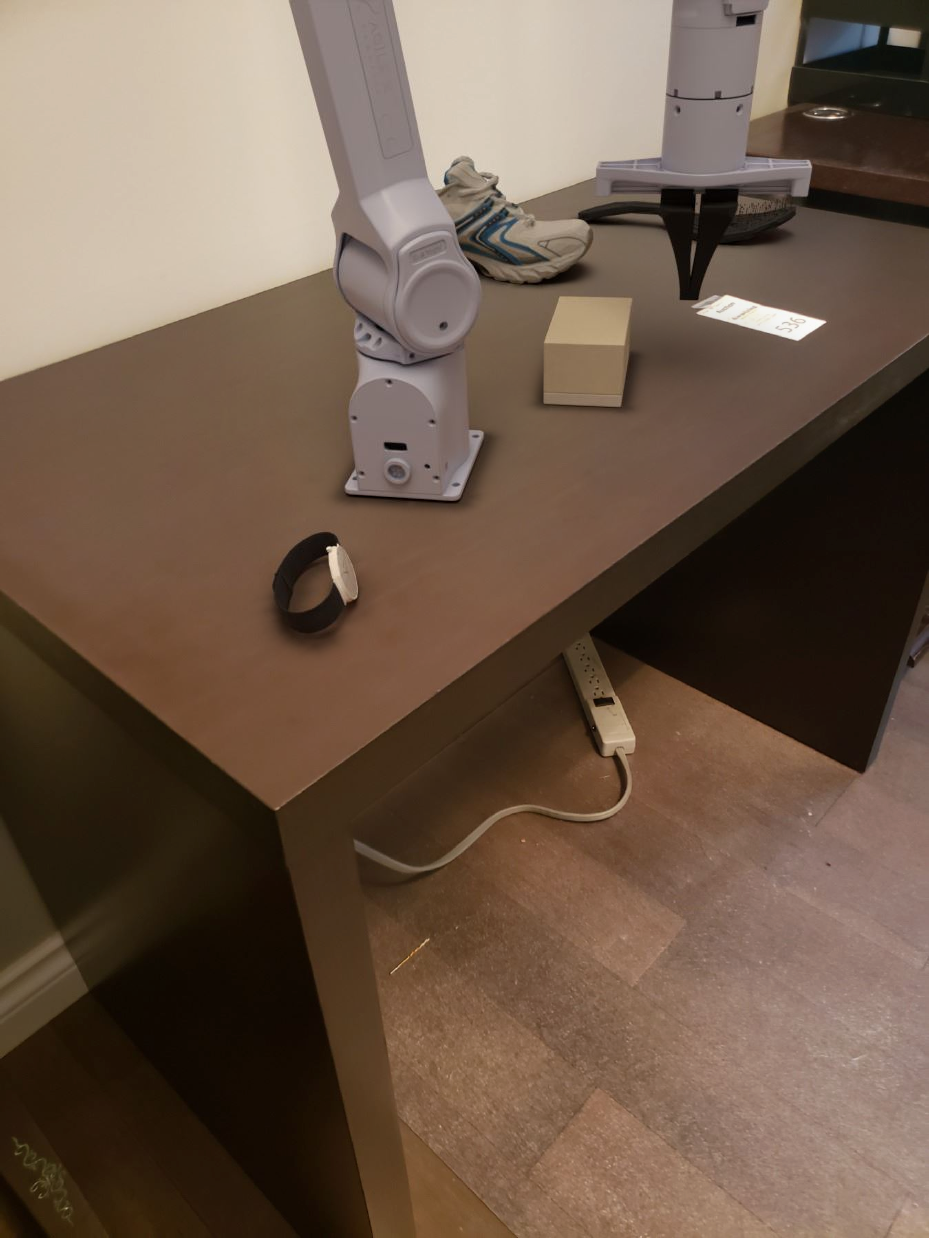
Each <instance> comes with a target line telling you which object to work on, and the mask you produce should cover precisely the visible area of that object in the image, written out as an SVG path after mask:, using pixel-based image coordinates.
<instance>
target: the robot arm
mask: <svg viewBox="0 0 929 1238" xmlns="http://www.w3.org/2000/svg"><path fill="white" fill-rule="evenodd" d="M769 2H770V0H672V5H671V19H670V20H671V21H670V31H669V33H670V34H669V46H668V59H667V60H668V61H667V72H666V74H667V76H666V85H665V86H666V87H665V101H664V113H663V114H664V115H663V125H662V126H663V127H662V140H661V152H660V154H661V155H660V156H658V157H657V156H656V157H647V158H635V159H624V160H623V159H622V160H607V161H606V160H605V161H604V160H602V161H598V162H597V165H596V169H595V194H594V195H595V197H596V198H607V197H611V196H612V195H660V201H659V203H660V212H661V216H662V218H661V219H662V222H663V224H664V227H665V229H666V232H667V235H668V238H669V240H670V245H671V247H672V251H673V255H674V259H675V264H676V265H675V266H676V269H677V277H678V286H679V287H678V289H679V299H678V300H679V301H694V302H695V301H699V299H700V294H701V288H702V285H703V282H704V279H705V277H706V274H707V270H708V268H709V266H710V264H711V261H712V259H713V256H714V254H715V253H716V250H717V248H718V246H719V244H720V243H719V242H720V240H721V239H722V237H723V235H724V233H725V232H726V230H727V228H728V227H729V225H730V223H731V222H732V220H733V218H734V216H735V215H737V213H738V209H739V206H738V204H739V195H790V197H791V196H792V197H793V198H807V197H808V195H809V189H810V183H811V177H812V173H813V172H812V171H813V165H812V162H811V160H809V159H784V158H769V157H757V156H756V157H755V156H746V155H747V147H748V139H749V131H750V123H751V114H752V107H753V100H754V99H753V98H754V91H755V85H756V76H757V68H758V60H759V53H760V46H761V37H762V29H763V22H764V13H765V11H766V10H767V9H768V7H769ZM288 4H289V8H290V10H291V15H292V19H293V21H294V26H295V30H296V33H297V37H298V41H299V44H300V48H301V52H302V56H303V60H304V63H305V67H306V71H307V75H308V78H309V82H310V86H311V90H312V93H313V97H314V101H315V105H316V108H317V113H318V115H319V120H320V124H321V128H322V131H323V135H324V138H325V143H326V146H327V150H328V153H329V157H330V162H331V165H332V168H333V169H332V170H333V172H334V176H335V179H336V184H337V188H338V191H339V192H338V196H337V198H336V200H335V203H334V205H333V208H332V210H331V212H330V218H331V222H332V226H333V230H334V235H335V251H334V256H333V257H334V258H333V263H332V275H333V276H332V277H333V282H334V285H335V288H336V290H337V292H338V294H339V296H340V298H341V299H342V300H343V302H344V303H345V304H346V305H347V306H348V307H349V308H351V309H352V310H353V311H354V317H355V321H354V322H355V323H354V326H353V327H354V328H353V339H354V348H355V356H356V357H355V358H356V364H357V374H358V378H357V384H356V386H355V388H354V390H353V392H352V395H351V397H350V400H349V403H348V410H347V411H348V422H349V423H348V424H349V432H350V438H351V445H352V446H351V447H352V452H353V453H352V454H353V461H354V470H353V471H352V473H351V475H350V476H349V479H348V480H347V481H346V483H345V484H344V492H345V493H346V494H348V495H355V496H356V495H357V496H372V497H387V498H389V497H390V498H400V499H401V498H402V499H403V498H404V499H415V500H416V499H419V500H433V501H447V502H448V501H450V502H455V501H458V500H460V499H461V497H462V495H463V492H464V490H465V487H466V484H467V481H468V480H469V477H470V475H471V472H472V470H473V466H474V464H475V462H476V459H477V456H478V454H479V452H480V449H481V446H482V444H483V442H484V438H485V433H484V431H483V430H478V429H470V424H469V423H470V421H469V401H468V381H467V360H466V339H467V338H468V337H469V335H470V334H471V332H472V331H473V329H474V328H475V326H476V324H477V321H478V319H479V316H480V313H481V309H482V302H483V288H482V283H481V279H480V276H479V274H478V272H477V270H476V269H475V267H474V265H472V264H471V263H470V262H469V261H468V259H467V258H466V257H465V256H464V254H463V252H462V250H461V248H460V245H459V242H458V238H457V234H456V228H455V224H454V222H453V220H452V218H451V216H450V215H449V213H448V211H447V209H446V208H445V206H444V204H443V203H442V201H441V199H440V198H439V196H438V195H437V193H436V191H435V190H436V189H435V188H434V186H433V184H432V183H431V181H430V179H429V176H428V170H427V165H426V161H425V155H424V151H423V146H422V145H423V144H422V140H421V136H420V131H419V125H418V121H417V116H416V111H415V105H414V101H413V97H412V91H411V86H410V81H409V77H408V72H407V66H406V62H405V57H404V52H403V46H402V41H401V36H400V32H399V31H400V30H399V28H398V27H399V26H398V23H397V17H396V12H395V8H394V3H393V0H288ZM697 195H700V203H699V212H698V213H699V222H698V232H697V240H696V243H695V251H694V256H693V261H691V260H692V247H693V246H692V245H693V229H694V220H695V213H696V206H697V205H696V203H697ZM691 265H692V266H691Z"/></svg>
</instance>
